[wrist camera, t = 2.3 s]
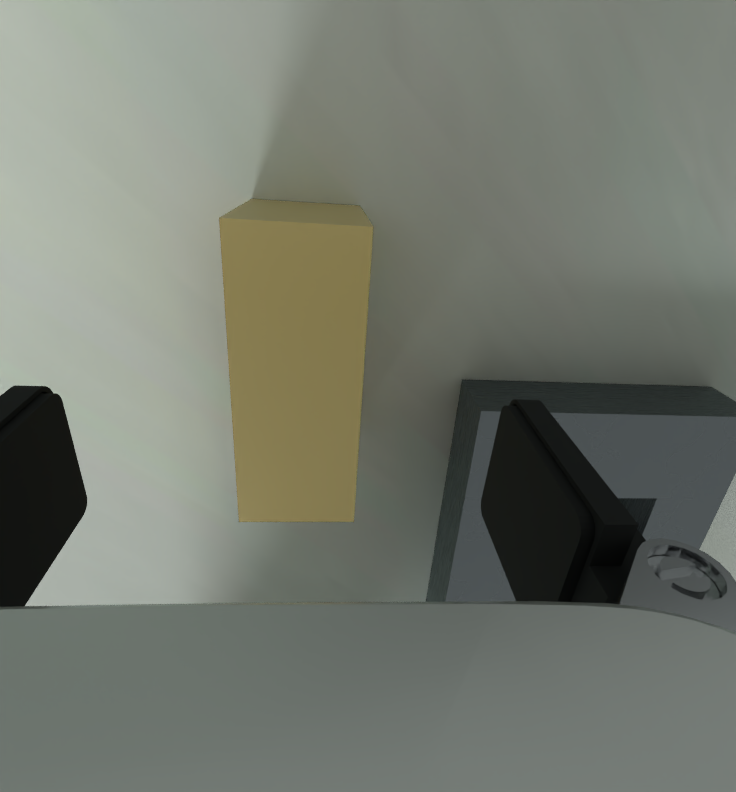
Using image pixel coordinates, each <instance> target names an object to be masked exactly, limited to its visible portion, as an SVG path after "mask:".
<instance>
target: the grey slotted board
mask: <svg viewBox="0 0 736 792" xmlns="http://www.w3.org/2000/svg"><path fill="white" fill-rule="evenodd" d="M513 399H522V400H540V401H541V402H542V403H543V404H544V406H545V407H546V408H547V409H548V411H549V412H550V413H551V414H552V416H553V417H554V418H555V419H556V421H557V422H558V423H559V425H560V426H561V427H562V428H563V430H564V431H565V432H566V433H567V435H568V436H569V437H570V438H571V440H572V441H573V442H574V444H575V445H576V446H577V447H578V449H579V450H580V451H581V452H582V454H583V455H584V456H585V457H586V459H587V460H588V461H589V463H590V464H591V465H592V466H593V468H594V469H595V470H596V471H597V473H598V474H599V475H600V476H601V478H602V479H603V480H604V481H605V483H606V484H607V485H608V487H609V488H610V489H611V490H612V492H613V493H614V494H615V495H616V497H617V498H618V499H619V500H620V502H621V503H622V504H623V506H624V507H625V508H626V509H627V511H628V512H629V513H630V514H631V516H632V517H633V518H634V519H635V521H636V522H637V523H638V525H639V526H638V528H637V529H638V531H639V532H640V533H641V535H642V536H643V537H644V538H645V540H646V541H648V540H650V539H659V538H664V539H670V540H676V541H679V542H682V543H685V544H688V545H691V546H693V547H695V548H697V549H700V547H701V544H702V542H703V540H704V538H705V536H706V534H707V532H708V530H709V528H710V526H711V523H712V521H713V519H714V517H715V515H716V513H717V511H718V509H719V507H720V505H721V502H722V500H723V498H724V496H725V494H726V492H727V490H728V488H729V486H730V484H731V481H732V479H733V477H734V475H735V473H736V402H735V401H734V400H732V399H730V398H729V397H727V396H726V395H724V394H722V393H721V392H719V391H717V390H716V389H714V388H712V387H699V386H664V385H630V384H595V383H561V382H526V381H491V380H462V385H461V391H460V397H459V403H458V409H457V415H456V421H455V427H454V434H453V440H452V446H451V452H450V458H449V464H448V470H447V476H446V482H445V489H444V495H443V501H442V507H441V513H440V519H439V525H438V531H437V537H436V544H435V550H434V556H433V562H432V568H431V574H430V580H429V586H428V592H427V599H426V602H452V601H516V600H515V597H514V595H513V592H512V590H511V587H510V585H509V582H508V580H507V577H506V575H505V572H504V570H503V567H502V565H501V562H500V560H499V557H498V555H497V552H496V550H495V547H494V544H493V542H492V539H491V537H490V534H489V532H488V529H487V527H486V524H485V522H484V519H483V517H482V513H481V498H482V494H483V489H484V485H485V480H486V476H487V471H488V467H489V462H490V458H491V453H492V449H493V445H494V440H495V436H496V431H497V427H498V422H499V418H500V413H501V410H502V408H503V406H505V405H509V404H510V403H511V401H512V400H513Z"/></svg>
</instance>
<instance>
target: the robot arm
mask: <svg viewBox="0 0 736 792" xmlns="http://www.w3.org/2000/svg"><path fill="white" fill-rule="evenodd" d="M86 506H87V495H86V492H85V488H84V484H83V480H82V476H81V472H80V468H79V464H78V460H77V456H76V453H75V449H74V445H73V441H72V437H71V433H70V429H69V425H68V421H67V417H66V414H65V410H64V406H63V402H62V399H61V397H60V396H59V395H58V394H53V392H52V391H51V389H50V388H48V387H46V386H13V387H11V388H10V389H9V390H7V391H6V392H5V393H4V394H2V395H1V396H0V792H736V582H735V580H734V579H733V577H732V576H731V574H730V573H729V572H728V571H727V570H726V569H725V568H724V567H723V566H722V565H721V564H720V563H719V562H718V561H716V560H715V559H714V558H712V557H711V556H709V555H708V554H706V553H705V552H703V551H701V550H699V549H697V548H695V547H693V546H691V545H688V544H685V543H682V542H679V541H676V540H670V539H664V538H659V539H650V540H648V541H646V540H645V538H644V537H643V536H642V535H641V533H640V532H639V531H638V529H637V528H638V526H639V525H638V523H637V522H636V521H635V519H634V518H633V517H632V516H631V514H630V513H629V512H628V511H627V509H626V508H625V507H624V506H623V504H622V503H621V502H620V500H619V499H618V498H617V497H616V495H615V494H614V493H613V492H612V490H611V489H610V488H609V487H608V485H607V484H606V483H605V481H604V480H603V479H602V478H601V476H600V475H599V474H598V473H597V471H596V470H595V469H594V468H593V466H592V465H591V464H590V463H589V461H588V460H587V459H586V457H585V456H584V455H583V454H582V452H581V451H580V450H579V449H578V447H577V446H576V445H575V444H574V442H573V441H572V440H571V438H570V437H569V436H568V435H567V433H566V432H565V431H564V430H563V428H562V427H561V426H560V425H559V423H558V422H557V421H556V419H555V418H554V417H553V416H552V414H551V413H550V412H549V411H548V409H547V408H546V407H545V406H544V404H543V403H542V402H541V401H540V400H522V399H513V400H512V401H511V403H510V404H509V405H505V406H503V408H502V410H501V413H500V418H499V422H498V427H497V431H496V436H495V440H494V445H493V449H492V453H491V458H490V462H489V467H488V471H487V476H486V480H485V485H484V489H483V494H482V498H481V513H482V517H483V519H484V522H485V524H486V527H487V529H488V532H489V534H490V537H491V539H492V542H493V544H494V547H495V550H496V552H497V555H498V557H499V560H500V562H501V565H502V567H503V570H504V572H505V575H506V577H507V580H508V582H509V585H510V587H511V590H512V592H513V595H514V597H515V600H516V601H452V602H303V603H213V604H137V605H78V606H25V604H26V603H27V601H28V600H29V598H30V597H31V595H32V594H33V592H34V591H35V589H36V588H37V586H38V584H39V583H40V581H41V580H42V578H43V577H44V575H45V574H46V572H47V571H48V569H49V567H50V566H51V564H52V563H53V561H54V560H55V558H56V557H57V555H58V554H59V552H60V550H61V549H62V547H63V546H64V544H65V543H66V541H67V540H68V538H69V537H70V535H71V534H72V532H73V530H74V529H75V527H76V526H77V524H78V523H79V521H80V520H81V518H82V517H83V515H84V513H85V510H86Z"/></svg>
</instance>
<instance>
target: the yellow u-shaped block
mask: <svg viewBox="0 0 736 792" xmlns="http://www.w3.org/2000/svg"><path fill="white" fill-rule="evenodd" d="M219 222H220V238H221V253H222V269H223V284H224V299H225V315H226V330H227V345H228V361H229V376H230V392H231V407H232V422H233V438H234V453H235V468H236V484H237V499H238V515H239V522H354V512H355V497H356V482H357V467H358V452H359V437H360V421H361V406H362V391H363V376H364V361H365V346H366V331H367V316H368V301H369V286H370V271H371V255H372V240H373V225H372V224H371V222H370V221H369V219H368V218H367V216H366V215H365V213H364V211H363V210H362V208H361V207H360V206H358V205H342V204H326V203H310V202H294V201H278V200H262V199H250V200H249V201H247V202H245V203H244V204H242V205H240V206H238V207H237V208H235V209H233V210H232V211H230V212H228V213H227V214H225V215H223V216H222V217H220V218H219Z"/></svg>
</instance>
